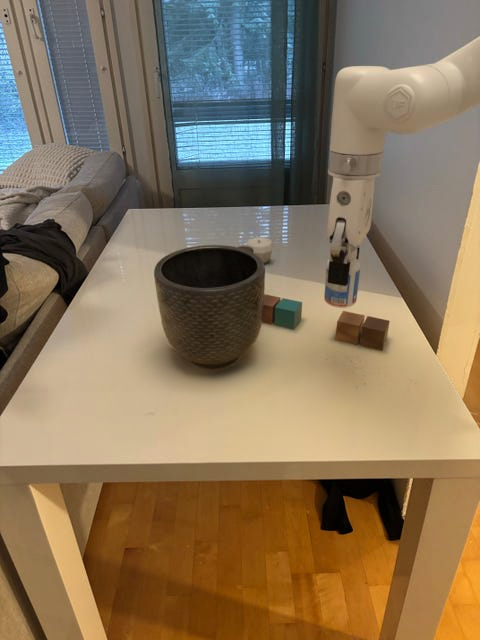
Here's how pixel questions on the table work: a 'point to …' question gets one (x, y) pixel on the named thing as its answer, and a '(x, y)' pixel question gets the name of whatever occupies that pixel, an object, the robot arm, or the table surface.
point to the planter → (211, 302)
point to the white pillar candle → (261, 247)
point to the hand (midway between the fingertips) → (342, 274)
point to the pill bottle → (344, 294)
